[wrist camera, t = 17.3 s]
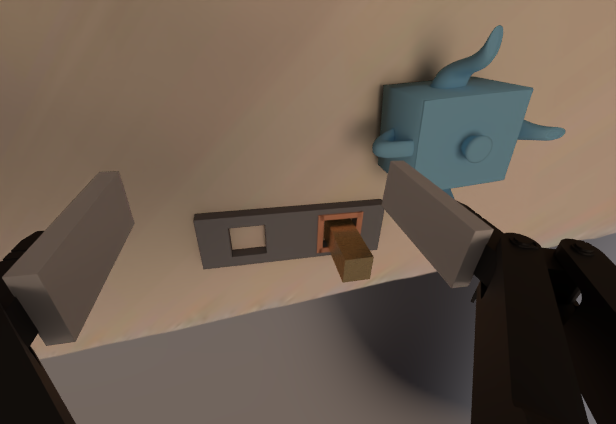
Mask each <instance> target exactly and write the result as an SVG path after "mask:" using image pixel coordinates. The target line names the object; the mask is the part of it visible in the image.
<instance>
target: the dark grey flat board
mask: <svg viewBox="0 0 616 424" xmlns="http://www.w3.org/2000/svg"><path fill="white" fill-rule="evenodd" d="M381 205H382V200H381V199H375V200H362V201H350V202H338V203H325V204H313V205H301V206H288V207H276V208H264V209H251V210H239V211H227V212H214V213H202V214H195V216H194V220H193V222H194V226H195V231H196V236H197V241H198V245H199V250H200V255H201V260H202V264H203V269H211V268H220V267H229V266H238V265H247V264H255V263H264V262H273V261H282V260H290V259H299V258H308V257H317V256H326V255H331V253H330V251H329V248H328V246H327V244H326V241H325V240H323V232H324V221H325V220H336V219H346V218H352V222H353V224H354V225H355V227H356V229H357V230H358V232H359V233H360V235H361V237H362V238H363V240H364V242H365V243H366V245H367V247H368V248H369V250H377V248H378V242H379V236H380V231H381V225H382V220H383V214H384V208H383V207H382V206H381ZM259 225H265V238H266V247H256V248H247V249H237V250H232V245H231V238H230V231H229V228H237V227H248V226H259Z"/></svg>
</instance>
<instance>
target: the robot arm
mask: <svg viewBox="0 0 616 424" xmlns="http://www.w3.org/2000/svg"><path fill="white" fill-rule="evenodd" d="M381 206H382V207H383V208H384V209H385V210H386V212H387V213H388V214H389V215H390V216H391V217H392V219H393V220H394V221H395V222H396V223H397V224H398V226H399V227H400V228H401V229H402V230H403V232H404V233H405V234H406V235H407V236H408V237H409V239H410V240H411V241H412V242H413V243H414V244H415V246H416V247H417V248H418V249H419V250H420V252H421V253H422V254H423V255H424V256H425V257H426V259H427V260H428V261H429V262H430V263H431V264H432V266H433V267H434V268H435V269H436V270H437V272H438V273H439V274H440V275H441V276H442V277H443V278H444V279H445V281H446V282H447V283H448V284H449V286H450V287H451V288H457V287H464V286H469V283H470V281H471V279H472V276H473V275H475V276H476V277H477V278H478V279H479V280H480V282H479V285H478V287H477V289H476V291H475V293H474V295H473V297H472V299H471V302H473V303H474V301H475V299H476V319H475V320H476V321H475V343H474V366H473V387H472V388H473V389H472V410H471V424H589V422H588V419H587V415H586V411H585V407H584V404H583V400H582V396H583V398H584V400H585V402H586V403H587V406H588V408H589V409H590V411H591V413H592V415H593V417H594V419H595V420H596V423H597V424H616V265H614V263H612V261H611V260H610V259H609V258H608V257H607V256H606V255H605V254H604V253H603V252H601V251H600V250H599V249H597V248H596V247H594V246H592V245H591V244H589V243H587V242H586V243H585V242H584V241H581V240H575V239H563V240H561V242H560V243H559V245H558V247H557V248H556V249H549V248H541V246H540V245H539V244H538V243H537V242H536V241H534V240H533V239H531V238H529V237H527V236H524V235H521V234H516V233H505V234H504V233H503V232H501V231H500V230H499V229H497V228H496V227H495V226H493V225H492V224H491V223H489V222H488V221H487V220H485V219H484V218H482V217H481V216H480V215H479V214H477V213H475V211H473V210H472V209H471V208H469V207H468V206H467V205H465V204H462V203H460V202H458V201H456V200H455V199H453V198H452V197H451V196H449V195H448V194H447V193H445V192H444V191H443V190H442V189H440V188H439V187H438V186H436V185H435V184H434V183H432V182H431V181H430V180H428V179H427V178H426V177H424V176H423V175H422V174H421V173H419V172H418V171H417V170H415V169H414V168H413V167H411V166H410V165H409V164H407V163H406V162H405V161H404V160H403V161H390V166H389V171H388V176H387V181H386V186H385V191H384V196H383V200H382V205H381ZM133 225H134V220H133V216H132V213H131V210H130V207H129V203H128V200H127V197H126V193H125V190H124V187H123V183H122V180H121V177H120V173H119V171H110V172H99V173H98V174H97V175H96V176H95V177H94V178H93V179H92V180H91V182H90V183H89V184H88V185H87V186H86V187H85V188H84V189H83V190H82V191H81V192H80V193H79V194H78V196H77V197H76V198H75V199H74V200H73V201H72V202H71V203H70V204H69V205H68V206H67V207H66V209H65V210H64V211H63V212H62V213H61V214H60V215H59V216H58V217H57V218H56V219H55V220H54V222H53V223H52V224H51V225H50V226H49V227H48V228H47V229H46V230H45V231H37V232H35V233H33V234H32V235H30V236H28V237H26V238H25V239H23V240H21V241H20V242H19V243H18V244H17V245H16V246H15V247H14V248H13V249H12V250H11V253H9V254H8V255H7V256H6V257H5V258H4V259H3V261H1V262H0V424H76V423H75V421H74V420H73V418H72V416H71V414H70V413H69V411H68V409H67V407H66V406H65V404H64V402H63V400H62V399H61V397H60V395H59V393H58V392H57V390H56V388H55V387H54V385H53V383H52V381H51V380H50V378H49V376H48V374H47V373H46V371H45V369H44V367H43V366H42V364H41V362H40V361H39V359H38V357H37V355H36V353H35V352H34V350H33V349H32V347H31V346H30V345H31V343H32V342H33V340H34V339H35V337H36V336H37V334H39V335H40V337H41V339H42V340H43V342H44V343H45V345H46V346H49V345H56V344H63V343H70V342H76V340H77V338H78V336H79V334H80V332H81V330H82V328H83V326H84V324H85V321H86V319H87V317H88V315H89V313H90V311H91V309H92V307H93V305H94V303H95V301H96V299H97V297H98V295H99V293H100V291H101V289H102V287H103V285H104V283H105V281H106V279H107V277H108V275H109V273H110V271H111V269H112V267H113V265H114V263H115V261H116V259H117V257H118V255H119V253H120V251H121V249H122V247H123V245H124V243H125V241H126V239H127V237H128V235H129V233H130V231H131V229H132V227H133ZM580 293H581V294H582V301H581V303H580V305H579V304H578V302H577V301H576V299H577V297H578V296H579V295H580ZM581 394H582V396H581Z"/></svg>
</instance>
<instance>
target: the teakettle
mask: <svg viewBox="0 0 616 424" xmlns="http://www.w3.org/2000/svg"><path fill="white" fill-rule="evenodd" d="M502 37H503V27H502V26H501V25H499V26H497V27H495V28H494V30H493V31H492V33H491V34H490V36H489V38H488V39H487V41H486V43H485V44H484V46H483V47H482V48H481V49H480V50H479V51H478V52H477V53H475V54H474V55H472V56H470V57H467V58H464V59H461V60H458V61H456V62H453V63H451V64H449V65H447V66H446V67H444V68H443V69H442V70H441V71H439V72H438V74H437V75H436V77H435V78H434V80H432V81H422V82H412V83H402V84H392V85H384V87H383V100H382V115H381V128H380V136H379V137H378V138H377V139H376V140H375V141H374V143H373V147H372V149H373V153H374V154H375V155H376V156H378V165H379V166H380V167H381V168H382V169H383V170H384V171H386V172H387V173H388V171H389V166H390V161H403V160H404V161H405V162H406V163H407V164H409V165H410V166H411V167H413V168H414V169H415V170H417V171H418V172H419V173H421V174H422V175H423V176H424V177H426V178H427V179H428V180H430V181H431V182H432V183H434V184H435V185H436V186H438V187H439V188H440V189H442V190H443V191H444V192H445V193H447V194H448V195H449V196H451V197H452V198H453V199H454V197H453V194H452V192H451V189H450V188H457V187H463V186H469V185H476V184H482V183H488V182H494V181H500V180H504V179H505V175H506V172H507V169H508V166H509V163H510V160H511V157H512V154H513V151H514V148H515V145H516V142H517V140H544V141H547V140H554V139H558V138H560V137H562V136H563V135H564V134H565V129H563V128H559V127H547V126H541V125H537V124H533V123H531V122H528V121H526V120H524V117H525V113H526V110H527V107H528V104H529V101H530V98H531V95H532V92H533V88H531V87H526V86H521V85H515V84H510V83H505V82H499V81H494V80H489V79H484V78H478V77H471V75H472V74H473V73H474V72H477V71H479V70H481V69H483V68H485V67H486V66H488V65H489V64H490V63H491V61H492V60H493V59H494V58H495V56H496V54H497V52H498V50H499V48H500V45H501V42H502Z"/></svg>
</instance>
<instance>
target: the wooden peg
mask: <svg viewBox="0 0 616 424" xmlns="http://www.w3.org/2000/svg"><path fill="white" fill-rule="evenodd" d="M324 239H325V241H326V244H327V246H328V248H329V251H330V253H331V256H332V258H333V260H334V263H335V265H336V268H337V270H338V272H339V275H340V277H341V280H342V282H350V281H358V280H365V279H370V275H371V269H372V263H373V258H374V257H373V255H372V253H371V252H370V250H369V248H368V247H367V245H366V243H365V242H364V240H363V238H362V237H361V235H360V233H359V232H358V230H357V229H356V227H355V225H354V224H353V222H352V220H351V219H350V218H346V219H336V220H325V224H324Z"/></svg>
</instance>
